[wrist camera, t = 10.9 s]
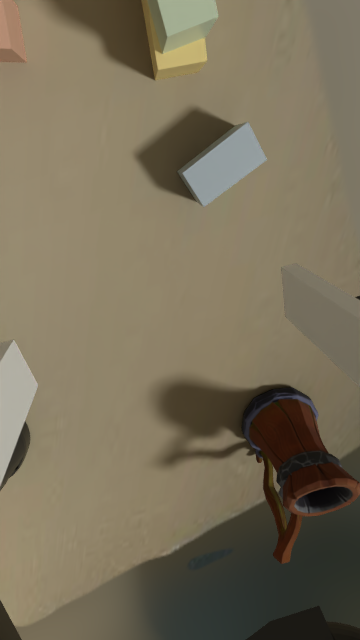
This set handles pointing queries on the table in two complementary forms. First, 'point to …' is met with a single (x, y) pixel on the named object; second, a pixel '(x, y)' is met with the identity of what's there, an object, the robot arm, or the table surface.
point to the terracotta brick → (11, 33)
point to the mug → (295, 462)
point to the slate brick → (222, 164)
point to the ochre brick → (173, 53)
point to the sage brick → (182, 21)
